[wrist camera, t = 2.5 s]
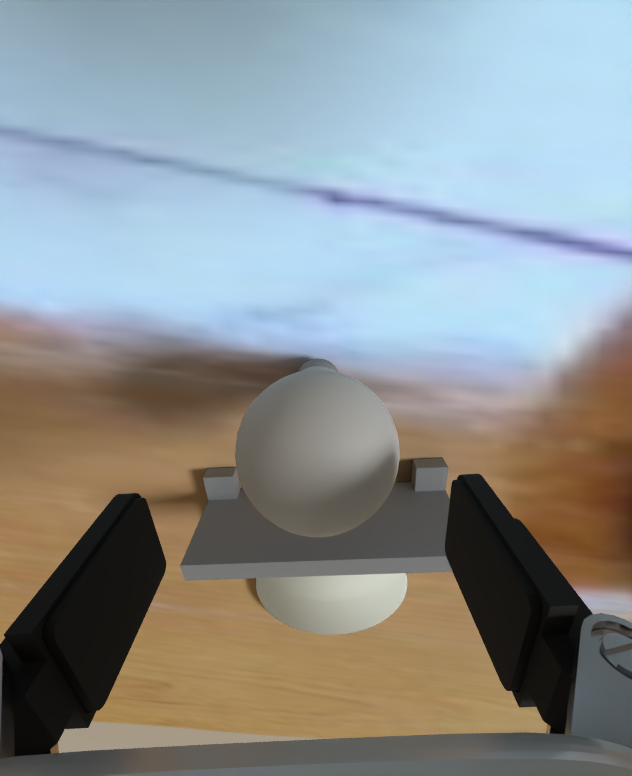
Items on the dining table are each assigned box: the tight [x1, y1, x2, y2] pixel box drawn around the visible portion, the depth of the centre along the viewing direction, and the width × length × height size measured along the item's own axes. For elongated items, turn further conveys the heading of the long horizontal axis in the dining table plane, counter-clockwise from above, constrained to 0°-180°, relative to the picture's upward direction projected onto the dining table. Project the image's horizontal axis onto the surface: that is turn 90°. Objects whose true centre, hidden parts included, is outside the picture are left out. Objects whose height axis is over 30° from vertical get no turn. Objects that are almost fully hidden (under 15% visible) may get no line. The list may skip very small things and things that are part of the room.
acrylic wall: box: [180, 458, 453, 581], centre depth 21 cm, size 5×16×6 cm, turn 94°
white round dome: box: [256, 573, 407, 635], centre depth 27 cm, size 12×12×1 cm
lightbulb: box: [235, 359, 400, 537], centre depth 15 cm, size 6×6×11 cm
